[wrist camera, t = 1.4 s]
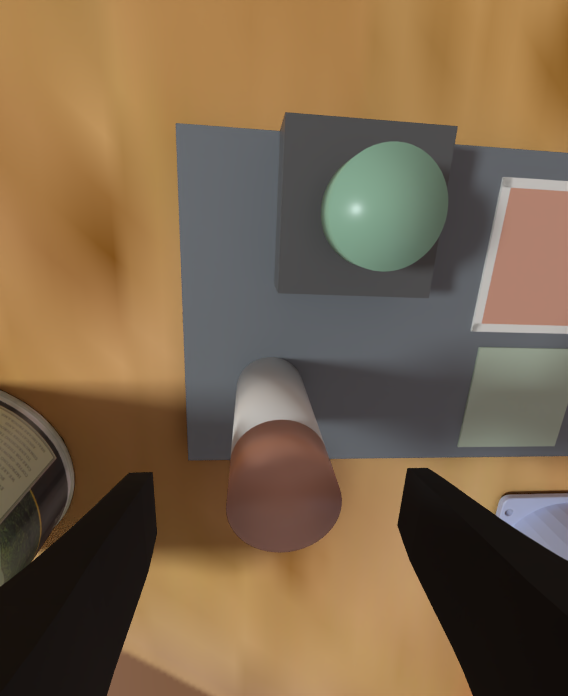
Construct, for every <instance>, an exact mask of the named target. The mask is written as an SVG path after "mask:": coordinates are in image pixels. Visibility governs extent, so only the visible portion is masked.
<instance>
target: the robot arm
mask: <svg viewBox="0 0 568 696" xmlns="http://www.w3.org/2000/svg"><path fill="white" fill-rule="evenodd" d="M398 528H399V531H400V534H401V537H402V540H403V543H404V546H405V549H406V551H407V554H408V557H409V560H410V562H411V564H412V566H413V568H414V570H415V573H416V575H417V577H418V579H419V581H420V583H421V585H422V587H423V589H424V591H425V593H426V595H427V597H428V599H429V601H430V603H431V605H432V607H433V609H434V611H435V613H436V615H437V617H438V619H439V621H440V623H441V625H442V627H443V629H444V631H445V633H446V635H447V637H448V639H449V641H450V643H451V645H452V647H453V650H454V652H455V654H456V656H457V658H458V661H459V663H460V665H461V667H462V669H463V672H464V674H465V677H466V679H467V682H468V684H469V687H470V689H471V692H472V694H473V696H568V493H555V494H510V495H505V496H503V497H502V498H501V499H500V501H499V504H498V508H497V512H496V515H495V514H493V513H492V512H490V511H489V510H487V509H486V508H485V507H483V506H482V505H480V504H479V503H477V502H476V501H475V500H473V499H472V498H470V497H469V496H468V495H466V494H465V493H463V492H462V491H461V490H459V489H458V488H456V487H455V486H454V485H452V484H451V483H449V482H448V481H446V480H445V479H444V478H442V477H441V476H439V475H438V474H436V473H435V472H433V471H432V470H430V469H428V468H407V473H406V479H405V485H404V490H403V496H402V502H401V507H400V513H399V519H398ZM156 535H157V526H156V513H155V499H154V485H153V472H141V473H129V474H127V475H126V476H125V477H124V478H123V479H122V480H121V481H120V482H119V483H118V484H117V485H116V486H115V487H114V488H113V489H112V490H111V491H110V492H109V493H108V494H107V495H106V496H104V497H103V498H102V499H101V500H100V501H99V502H98V503H97V504H96V505H95V506H94V507H93V508H92V509H91V510H90V511H89V512H88V513H87V514H86V515H85V516H83V517H82V518H81V519H80V520H79V521H78V522H77V523H76V524H75V525H74V526H73V527H72V528H71V529H69V530H68V531H67V532H66V533H65V534H64V535H63V536H62V537H60V538H59V539H58V540H57V541H56V542H55V543H53V544H52V545H51V546H50V547H49V548H48V549H46V550H45V551H44V552H43V553H42V554H41V555H39V556H38V557H37V558H36V559H35V560H34V561H32V562H31V563H30V564H29V565H27V566H26V567H25V568H24V569H22V570H21V571H20V572H19V573H17V574H16V575H15V576H14V577H12V578H11V579H10V580H8V581H7V582H6V583H4V584H3V585H2V586H0V696H107V693H108V690H109V687H110V683H111V680H112V677H113V674H114V670H115V668H116V664H117V662H118V659H119V656H120V653H121V650H122V647H123V644H124V641H125V639H126V636H127V633H128V630H129V627H130V624H131V621H132V618H133V615H134V612H135V610H136V607H137V604H138V601H139V598H140V595H141V592H142V589H143V586H144V583H145V580H146V577H147V574H148V571H149V566H150V562H151V558H152V554H153V549H154V544H155V540H156Z"/></svg>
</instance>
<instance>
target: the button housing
mask: <svg viewBox="0 0 568 696" xmlns="http://www.w3.org/2000/svg"><path fill="white" fill-rule="evenodd" d="M457 127H458V126H448V125H435V124H423V123H411V122H398V121H386V120H374V119H361V118H349V117H337V116H324V115H312V114H300V113H287V112H285V116H284V119H283V122H282V126H281V129H280V142H279V168H278V194H277V220H276V246H275V272H274V286H275V288H276V290H277V292H278V293H283V294H313V295H344V296H375V297H405V298H429V294H430V288H431V282H432V276H433V270H434V264H435V258H436V252H437V246H438V241H439V237H438V239H437V241H436V242H435V244H434V245H433V246H432V248H431V249H430V250H429V251H428V252H427V253H426V254H425V255H424V256H423V257H422V258H420V259H419V260H418V261H416V262H415V263H413V264H411V265H409V266H407V267H405V268H402V269H399V270H394V271H385V272H381V271H373V270H369V269H366V268H363V267H360V266H357V265H354V264H351V263H349V262H347V261H346V260H344V259H342V258H341V257H340V256H339V255H338V254H337V253H336V252H335V251H334V250H333V249H332V248H331V246H330V245H329V243H328V241H327V239H326V237H325V235H324V232H323V228H322V224H321V204H322V199H323V195H324V192H325V189H326V187H327V185H328V183H329V181H330V179H331V178H332V177H333V175H334V174H335V173H336V171H337V170H338V169H339V168H340V167H341V166H342V165H344V164H345V163H346V162H347V161H349V160H350V159H352V158H353V157H354V156H356V155H357V154H359V153H360V152H362V151H363V150H365V149H366V148H369V147H371V146H373V145H376V144H379V143H383V142H390V141H398V142H405V143H408V144H412V145H414V146H416V147H418V148H420V149H422V150H423V151H425V152H426V153H427V154H428V155H430V156H431V157H432V158H433V160H434V161H435V162H436V163H437V165H438V166H439V168H440V170H441V171H442V174H443V176H444V179H445V182H446V186H447V187H448V181H449V175H450V169H451V163H452V157H453V151H454V145H455V139H456V133H457Z"/></svg>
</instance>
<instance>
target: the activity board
mask: <svg viewBox="0 0 568 696" xmlns="http://www.w3.org/2000/svg"><path fill="white" fill-rule="evenodd" d="M279 142H280V131H272V130H259V129H245V128H232V127H219V126H206V125H193V124H180V123H176V145H177V171H178V198H179V224H180V251H181V278H182V304H183V331H184V357H185V384H186V411H187V437H188V460H230V459H231V447H232V436H233V424H234V413H235V402H236V390H237V382H238V379H239V376H240V374H241V372H242V371H243V370H244V369H245V368H246V367H247V366H248V365H249V364H250V363H252V362H253V361H255V360H258V359H261V358H266V357H276V358H281V359H283V360H286V361H288V362H289V363H291V364H292V365H293V366H294V367H295V368H296V369H297V370H298V372H299V373H300V376H301V378H302V381H303V384H304V387H305V390H306V393H307V395H308V398H309V401H310V404H311V407H312V410H313V413H314V416H315V419H316V421H317V424H318V427H319V430H320V433H321V436H322V439H323V442H324V445H325V447H326V450H327V453H328V456H329V459H346V458H434V457H521V456H568V153H561V152H548V151H535V150H522V149H509V148H495V147H482V146H469V145H456V144H455V145H454V151H453V157H452V163H451V169H450V175H449V181H448V187H447V191H448V211H447V217H446V221H445V224H444V227H443V229H442V232H441V234H440V236H439V241H438V246H437V252H436V258H435V264H434V270H433V276H432V282H431V288H430V294H429V298H405V297H375V296H344V295H313V294H283V293H278V292H277V290H276V288H275V286H274V272H275V246H276V220H277V194H278V168H279Z"/></svg>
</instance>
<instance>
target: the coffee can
mask: <svg viewBox="0 0 568 696" xmlns="http://www.w3.org/2000/svg"><path fill="white" fill-rule="evenodd" d="M73 492H74V469H73V464H72V460H71V457H70V454H69V452H68V450H67V447H66V445H65V444H64V442H63V440H62V438H61V437H60V436H59V434H58V433H57V432H56V430H55V429H54V428H53V427H52V426H51V425H50V424H49V422H48V421H47V420H46V419H45V418H44V417H43V416H42V415H40V414H39V413H38V412H36V411H35V410H34V409H33V408H31V407H30V406H28V405H27V404H25V403H24V402H22V401H20V400H19V399H17V398H15V397H13V396H11V395H9V394H7V393H6V392H4V391H1V390H0V586H2V585H3V584H4V583H6V582H7V581H8V580H10V579H11V578H12V577H14V576H15V575H16V574H17V573H19V572H20V571H21V570H22V569H24V568H25V567H26V566H27V565H29V564H30V563H31V562H32V560H33V559H34V557H35V556H36V554H37V553H38V551H39V550H40V548H41V547H42V545H43V544H44V542H45V541H46V539H47V538H48V536H49V535H50V533H51V531H52V530H53V528H54V527H55V526H56V525H57V524H58V523H59V522H60V520H61V519H62V518H63V516H64V515H65V513H66V512H67V510H68V508H69V505H70V503H71V500H72V496H73Z"/></svg>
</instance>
